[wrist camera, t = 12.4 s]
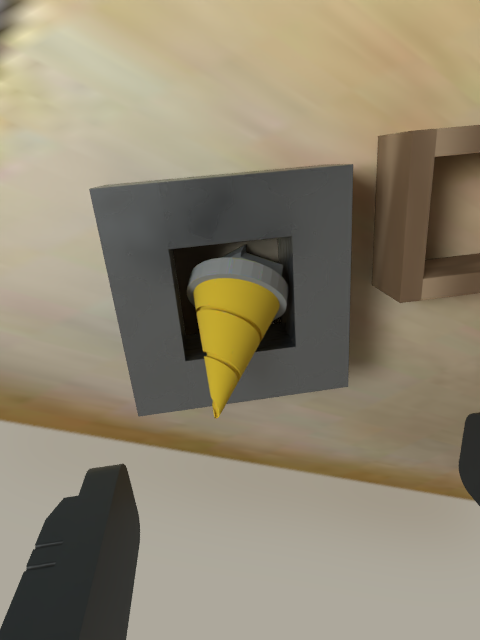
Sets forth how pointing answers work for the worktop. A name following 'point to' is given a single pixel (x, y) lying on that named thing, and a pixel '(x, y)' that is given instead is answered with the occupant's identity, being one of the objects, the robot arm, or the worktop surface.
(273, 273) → the drill bit
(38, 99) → the worktop surface
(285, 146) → the worktop surface
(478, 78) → the worktop surface
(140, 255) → the hub plate
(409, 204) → the wooden square frame
